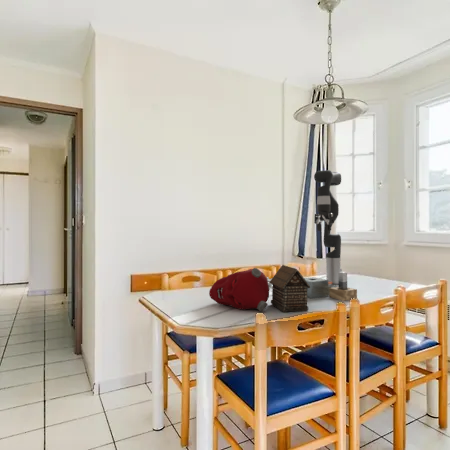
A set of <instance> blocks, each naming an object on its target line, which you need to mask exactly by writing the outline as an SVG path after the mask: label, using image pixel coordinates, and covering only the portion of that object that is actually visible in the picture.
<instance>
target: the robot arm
mask: <svg viewBox="0 0 450 450" xmlns="http://www.w3.org/2000/svg"><path fill="white" fill-rule="evenodd" d="M341 174H342V173H340V172H339V171H332V170H330V169H329V170H328V169H327V170H318V171H316V172H315V173H314V175H313V177H314V178H313V179H314V181H315V182H316V183H317V184H318V183H320V184H321V183H322V184H323V185H321V186H318V187H317V199H316V201H317V203H316V206H317V208H316V209H317V210H316V211H317V213H314V224H315V225H316V230H317V231H318V232H321V231H322V223H323V222H324V228H323V229H324V230H323V231H324V232H323V245H324V247H325V248H334V249H333V250H331V251H329V252H326V254H325V261H326V262H325V263H326V268H325V269H326V270H325V271H326V273H325V275H326V278H325V280H328V281H330V282H332V284H331V285H333V284H334V285H337V284H338V285H339V282H338V272H343V269H342V268H341V265H342V264H341V252H342V251H341V249H342V237H341V235H340V234H339V233H331V231H332V226H333V225H334V224H335V221H336V220H337V218H338V216H339V213H340V212H339V203H338V201H337V200H336V198H335V197H334V196H333V193H332V192H331V187H333V186H334V187H335V186H339V185H341V183H342V175H341Z"/></svg>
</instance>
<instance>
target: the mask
mask: <svg viewBox="0 0 450 450" xmlns="http://www.w3.org/2000/svg"><path fill="white" fill-rule="evenodd" d="M209 297H210V299H211V300H213V301H214V302H216V303H217V304H219V305H223V306H229V307H230V306H231V307H232V308H236V309H239V310H243V311H244V310H251V309H257V310H258V311H259V312H263V311H264V310H265V309H266V308H267V307H268V303H267V301H269V298H270V285H268V280H267V276H266V274H265V273H263V271H261V270H260V269H258V268H257V267H254V268H249V269H246V270H240V271H237V272H234V273H230V274H228V275H227V276H223V277H221V278H219V279H218V280H216V281H215V282H214V283H213V284H212V286H211V287H210V289H209Z"/></svg>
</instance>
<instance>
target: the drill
mask: <svg viewBox="0 0 450 450" xmlns="http://www.w3.org/2000/svg"><path fill="white" fill-rule="evenodd" d="M338 282H339V284H338V287H339V289H341V290H347V287H348V272H347V271H342V272H338Z"/></svg>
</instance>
